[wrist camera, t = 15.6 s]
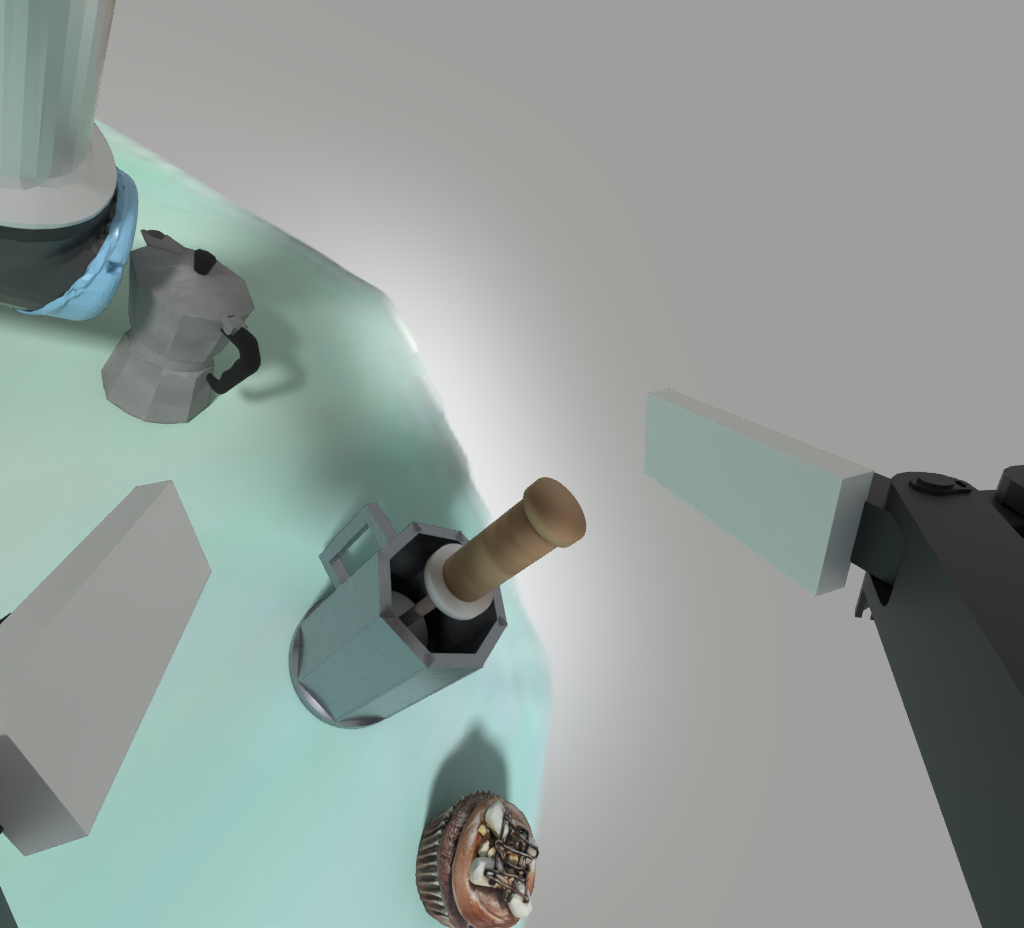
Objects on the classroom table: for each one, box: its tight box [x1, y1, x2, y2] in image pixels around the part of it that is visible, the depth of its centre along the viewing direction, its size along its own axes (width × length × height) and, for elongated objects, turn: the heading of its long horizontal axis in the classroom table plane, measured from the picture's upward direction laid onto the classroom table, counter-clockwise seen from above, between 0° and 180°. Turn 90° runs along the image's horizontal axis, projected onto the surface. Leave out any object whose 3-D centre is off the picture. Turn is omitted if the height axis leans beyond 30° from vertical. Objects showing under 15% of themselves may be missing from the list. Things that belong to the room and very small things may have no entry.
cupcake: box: [415, 790, 539, 928], centre depth 39 cm, size 10×10×10 cm
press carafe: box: [289, 502, 507, 729], centre depth 43 cm, size 16×13×16 cm
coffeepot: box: [101, 229, 261, 424], centre depth 44 cm, size 15×9×18 cm, turn 58°
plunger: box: [391, 477, 586, 649], centre depth 37 cm, size 8×8×23 cm
